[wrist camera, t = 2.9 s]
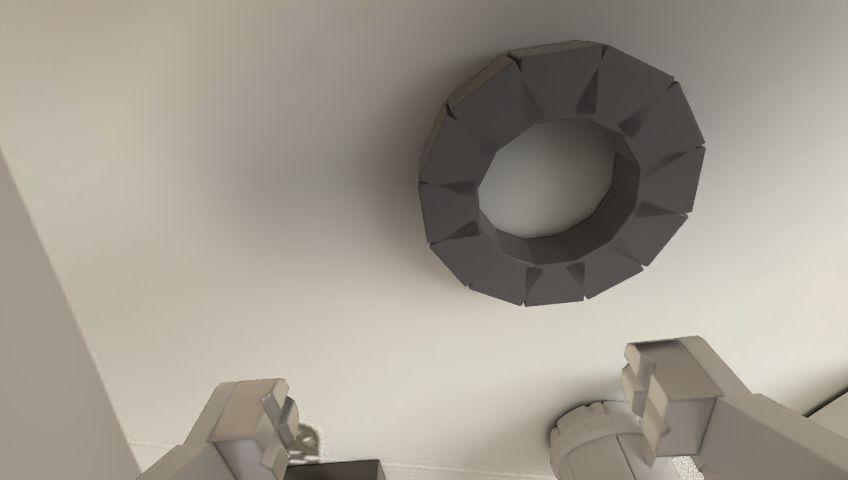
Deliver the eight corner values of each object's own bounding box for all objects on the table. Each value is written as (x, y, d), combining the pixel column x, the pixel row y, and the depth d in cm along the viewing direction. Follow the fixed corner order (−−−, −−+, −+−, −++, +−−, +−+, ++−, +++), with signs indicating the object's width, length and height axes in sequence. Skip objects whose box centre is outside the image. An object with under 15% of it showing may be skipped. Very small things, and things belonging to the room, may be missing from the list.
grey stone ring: (403, 66, 16) (399, 75, 14) (691, 22, 15) (733, 23, 13) (438, 286, 22) (439, 316, 20) (650, 263, 21) (675, 292, 19)
